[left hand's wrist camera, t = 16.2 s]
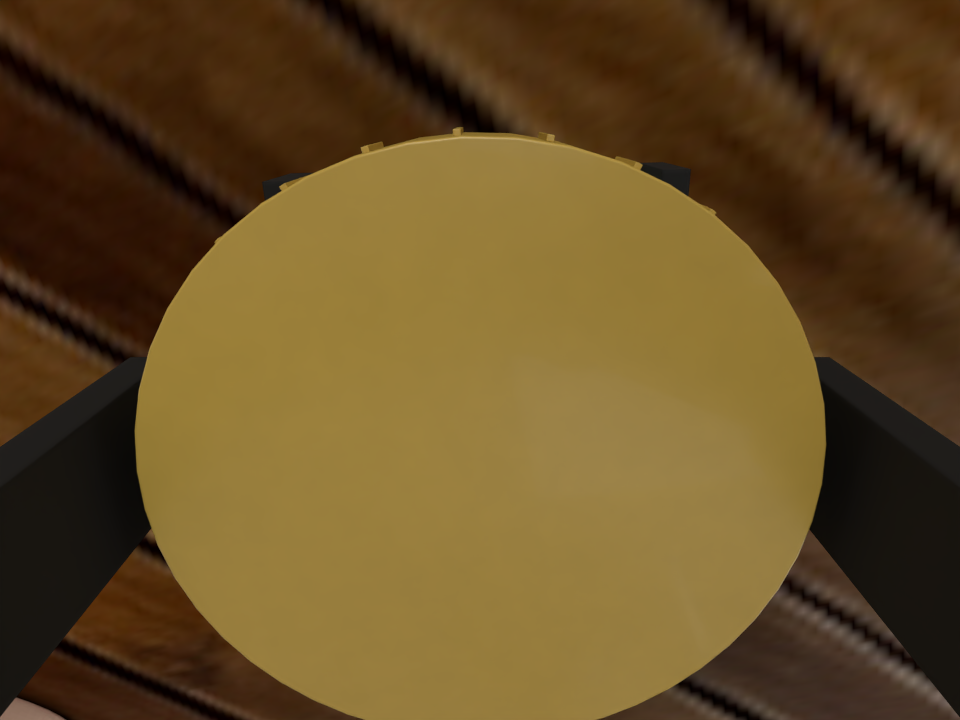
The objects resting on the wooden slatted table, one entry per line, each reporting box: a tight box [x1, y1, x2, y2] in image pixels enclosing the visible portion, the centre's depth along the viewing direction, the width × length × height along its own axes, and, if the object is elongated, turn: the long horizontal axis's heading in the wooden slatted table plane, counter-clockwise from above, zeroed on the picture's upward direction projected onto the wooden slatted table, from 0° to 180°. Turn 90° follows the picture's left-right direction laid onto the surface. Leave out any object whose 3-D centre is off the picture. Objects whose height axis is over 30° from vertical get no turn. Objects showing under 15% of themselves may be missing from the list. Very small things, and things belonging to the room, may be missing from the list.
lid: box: [135, 127, 826, 720], centre depth 11 cm, size 11×11×2 cm
